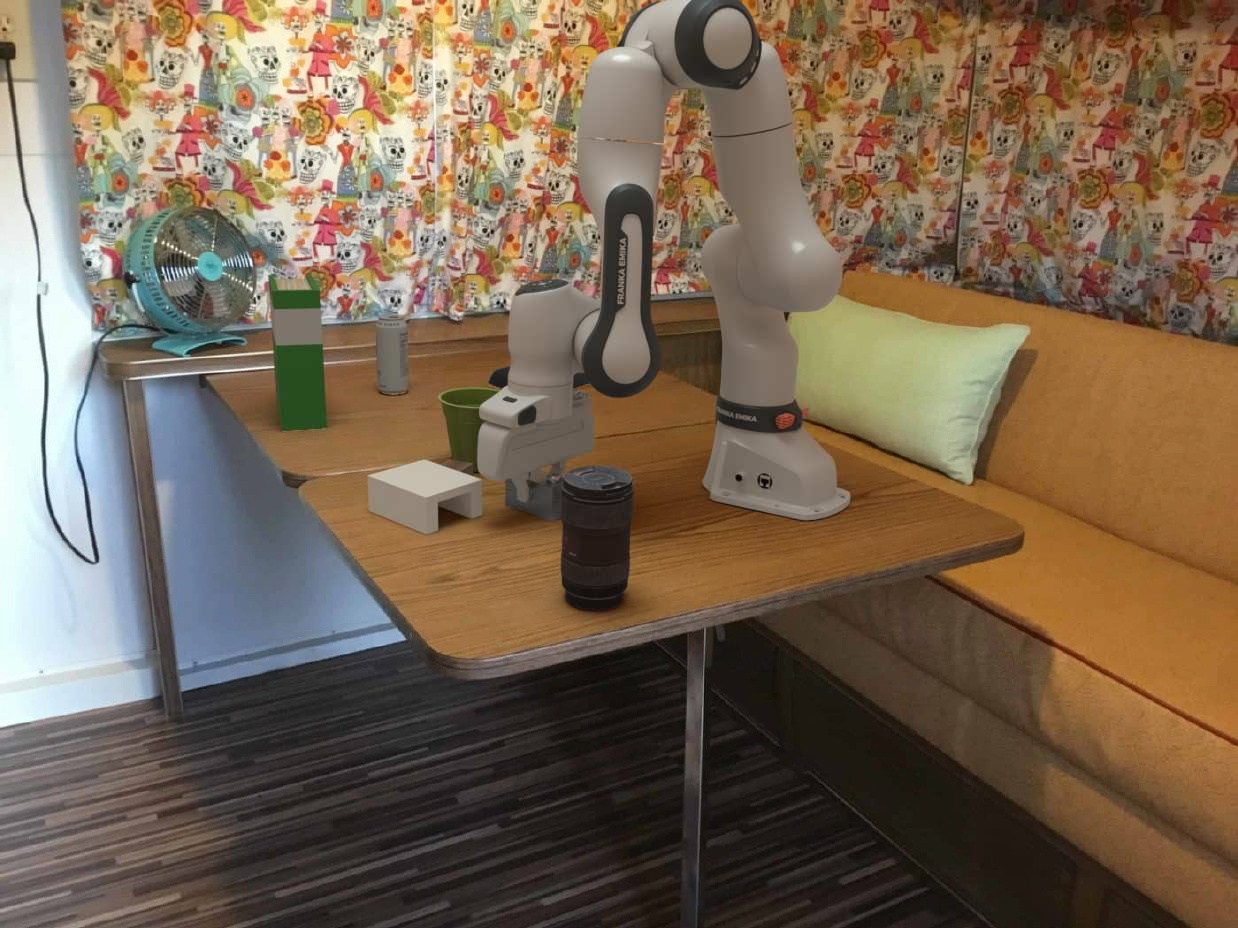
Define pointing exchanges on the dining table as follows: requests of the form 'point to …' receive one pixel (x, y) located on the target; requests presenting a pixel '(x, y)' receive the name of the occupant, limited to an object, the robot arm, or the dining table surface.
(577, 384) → the external hard drive
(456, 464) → the walnut block
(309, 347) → the hardback book
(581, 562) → the camera lens
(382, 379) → the energy drink can
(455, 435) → the plant pot
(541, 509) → the block
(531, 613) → the dining table surface
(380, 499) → the stand
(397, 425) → the dining table surface
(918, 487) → the dining table surface
